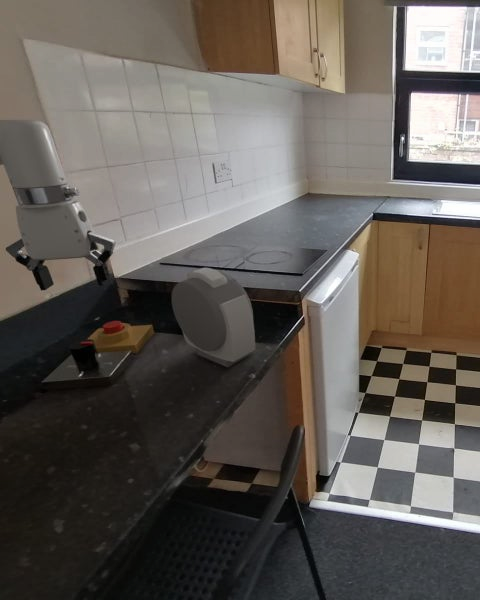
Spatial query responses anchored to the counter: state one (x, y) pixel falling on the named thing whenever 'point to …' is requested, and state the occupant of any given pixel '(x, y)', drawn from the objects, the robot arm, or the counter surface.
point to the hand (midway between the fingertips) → (76, 285)
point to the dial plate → (88, 372)
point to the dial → (85, 354)
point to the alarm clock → (215, 315)
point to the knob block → (122, 338)
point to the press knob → (113, 327)
